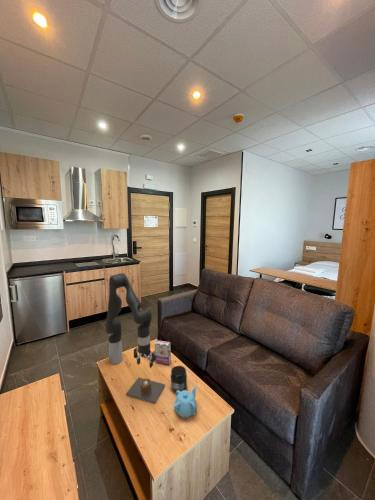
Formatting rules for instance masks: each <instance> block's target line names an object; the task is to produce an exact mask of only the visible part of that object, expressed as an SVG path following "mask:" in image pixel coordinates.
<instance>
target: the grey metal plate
mask: <svg viewBox="0 0 375 500" xmlns="http://www.w3.org/2000/svg"><path fill="white" fill-rule="evenodd" d="M143 379H144V378H141V377H137V379H136V380H135V381H134V382H133V384H132V385H131V386H130V388H129V389H128V390H127V391H126V393H125V395H126V397H130V398H134V399H136V400H140V401H145V402H147V403H151V404H154V405H156V403H157V401H158V400H159V398H160V396H161V394H162V393H163V391H164V389H165V387H166V384H165V383H162V382H157V381H153V380H151V390H150V391H149V392H147V393H143V392H142V391H141V381H142V380H143ZM147 384H148V380H144V381H143V385H147Z"/></svg>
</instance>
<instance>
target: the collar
mask: <svg viewBox="0 0 375 500" xmlns="http://www.w3.org/2000/svg"><path fill="white" fill-rule="evenodd" d="M144 380H148V384H147V385H143V381H144ZM151 381H152V380H151V378H143V380H142V381H141V391H142V392H143V393H147V392H149V391H150V390H151Z"/></svg>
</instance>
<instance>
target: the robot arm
mask: <svg viewBox="0 0 375 500" xmlns="http://www.w3.org/2000/svg"><path fill="white" fill-rule="evenodd" d="M120 288H124V289H125V290H126V293H125V301H126V304H127V305H128V307H129V309H130V311H131V313H132V316H133V321H134V323H136V324H137V325H139V326H137V346H136V347H135V348H134V349H133V358H134V359H136V364H137V365H138V366H139V365H140V364H141V358H144V359H146V360H147V361H148V362H149V368H150V369H152V367H153V366H154V362H156V356H155V350H153V351H151V336H150V335H151V334H150V326H151V323H152V319H153V318H152V317H153V315H152V312H151V310H150V309H148V308H145V309H143V310H141V309H142V307H143V304H142V302H141V301H140V300H139V298H138V297H137V295H136V293H135V291H134V289H133V287H132V285H131V282H130V281H129V278H128V276H127V275H126V274H125V273H123V272H121V273H118V274H113V275H111V276H110V277H109V280H108V304H107V316H106V319H105V325H104V326H105V328H104V329H105V333H107V334H108V335H110V336H108V348H109V349H108V362H109V363H110V364H112V365H118V364H120V363H122V361H123V358H124V357H123V343H122V322H121V320H120V318H116V317H117V316H118V315H119V314H120V312H121V310H122V306H123V301H122V298H121V297H120V295H118V293H117V289H120Z"/></svg>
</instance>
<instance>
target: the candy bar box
mask: <svg viewBox="0 0 375 500" xmlns="http://www.w3.org/2000/svg"><path fill="white" fill-rule="evenodd" d="M154 351H155V356H156V360H155V364H159V365H165V366H170V364H171V363H172V350H171V342H170V341H166V340H165V341H163V340H160V339H159V340H156V341H155V342H154Z"/></svg>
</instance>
